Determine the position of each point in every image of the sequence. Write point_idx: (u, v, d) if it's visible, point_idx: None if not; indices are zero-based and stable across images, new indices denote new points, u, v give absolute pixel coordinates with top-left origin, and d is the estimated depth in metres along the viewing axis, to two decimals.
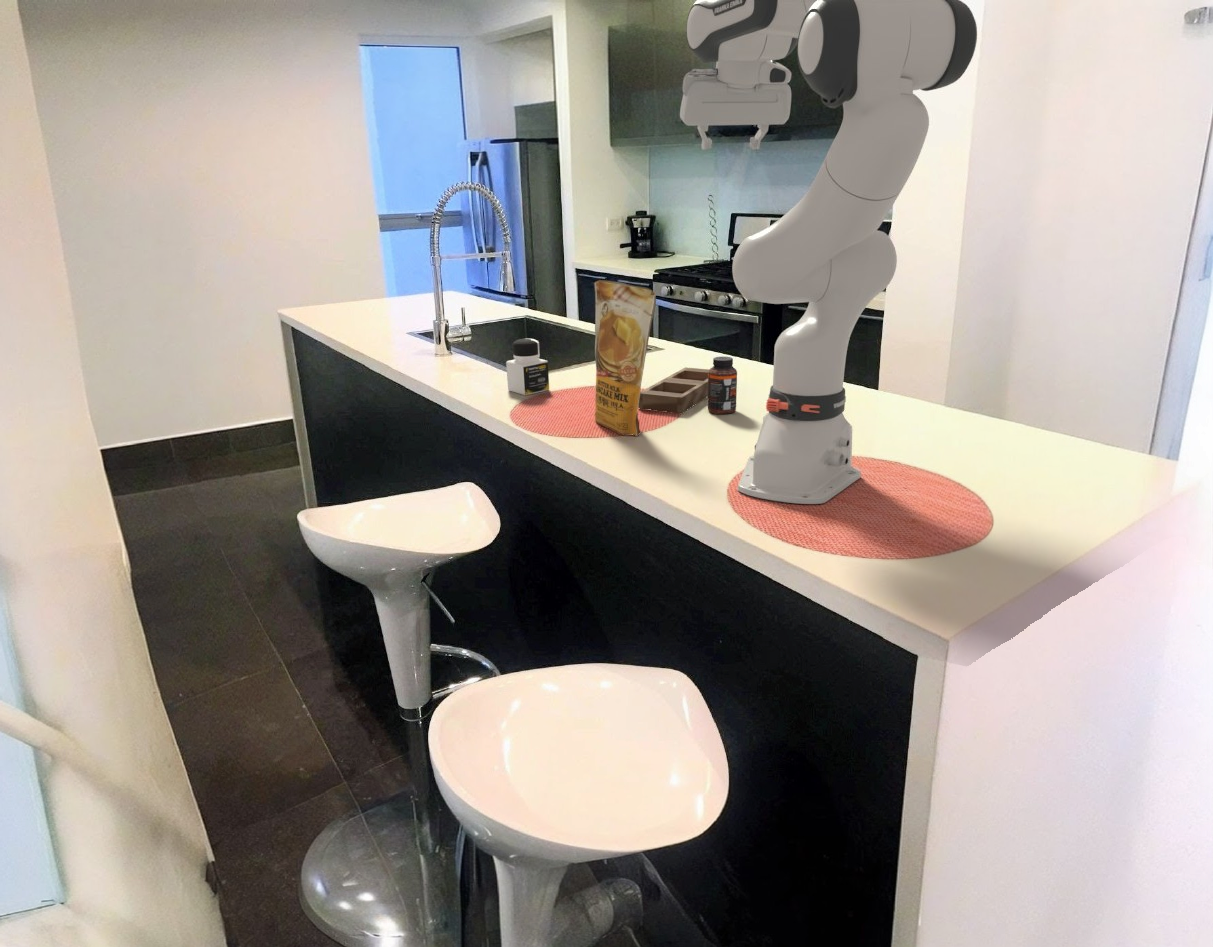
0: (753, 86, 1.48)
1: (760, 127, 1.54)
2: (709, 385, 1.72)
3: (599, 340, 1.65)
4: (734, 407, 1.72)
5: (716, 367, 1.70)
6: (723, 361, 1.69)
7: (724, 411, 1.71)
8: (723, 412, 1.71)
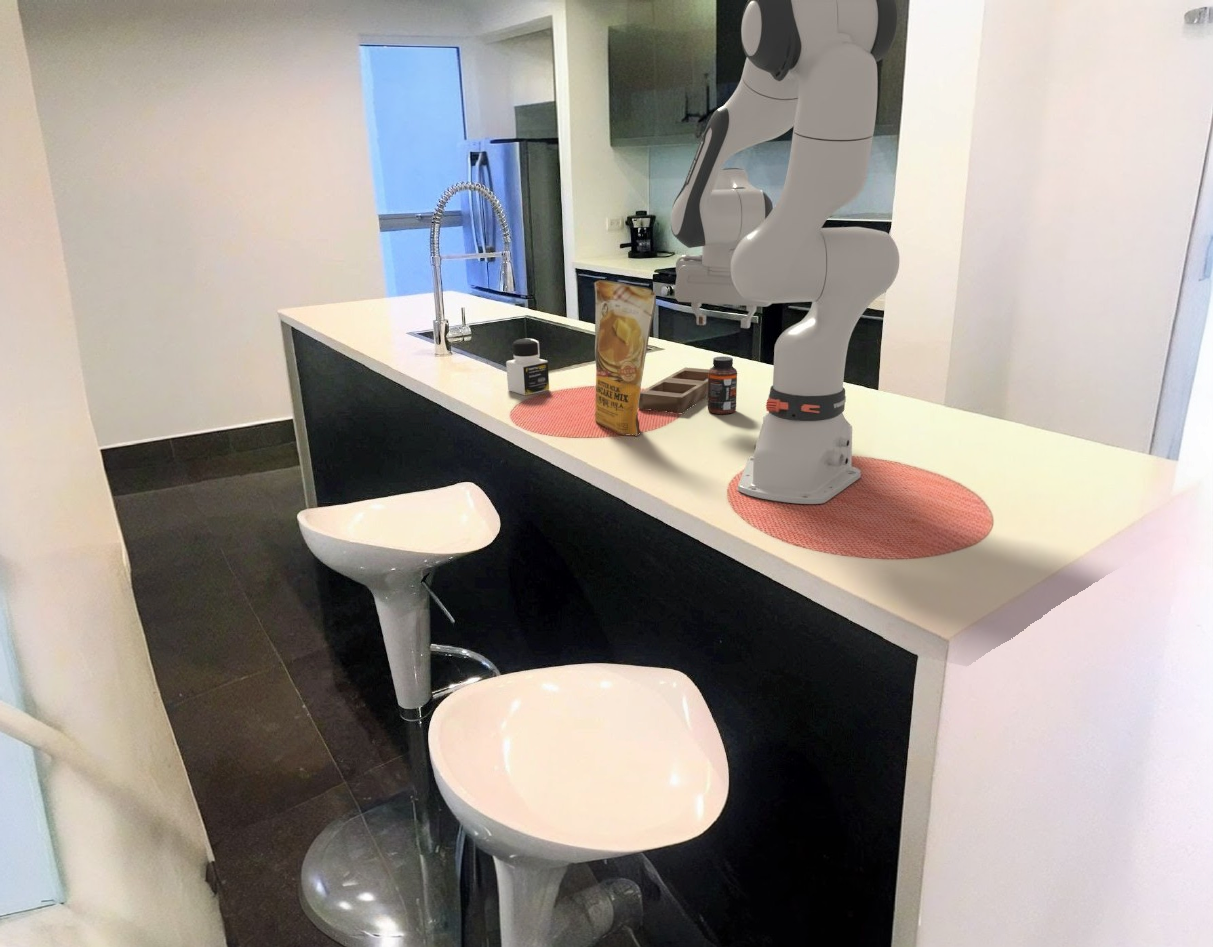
0: (729, 270, 1.62)
1: None
2: (709, 385, 1.72)
3: (599, 340, 1.65)
4: (734, 407, 1.72)
5: (716, 367, 1.70)
6: (723, 361, 1.69)
7: (724, 411, 1.71)
8: (723, 412, 1.71)
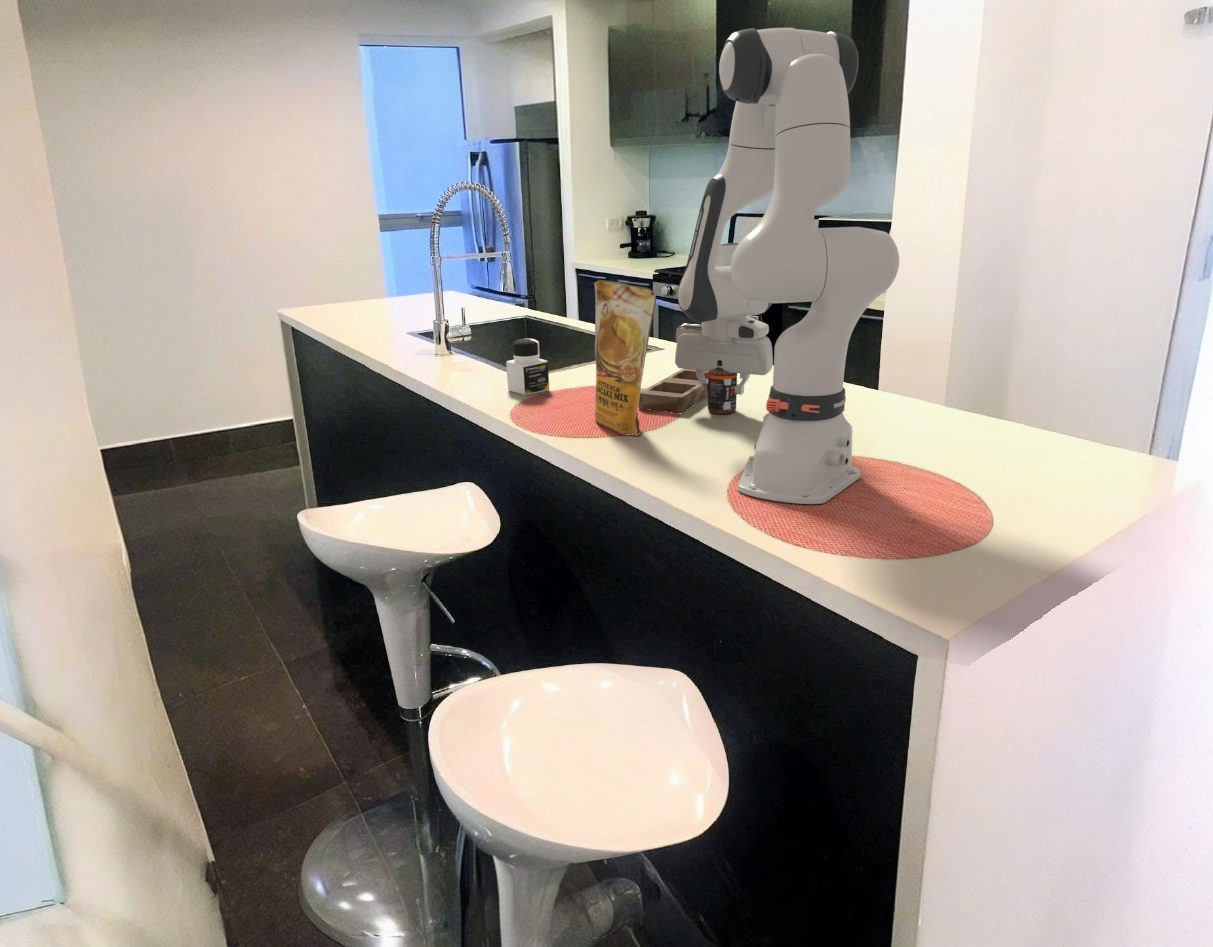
0: (728, 340, 1.66)
1: None
2: (709, 385, 1.72)
3: (599, 340, 1.65)
4: (734, 407, 1.72)
5: None
6: None
7: (724, 411, 1.71)
8: (723, 412, 1.71)
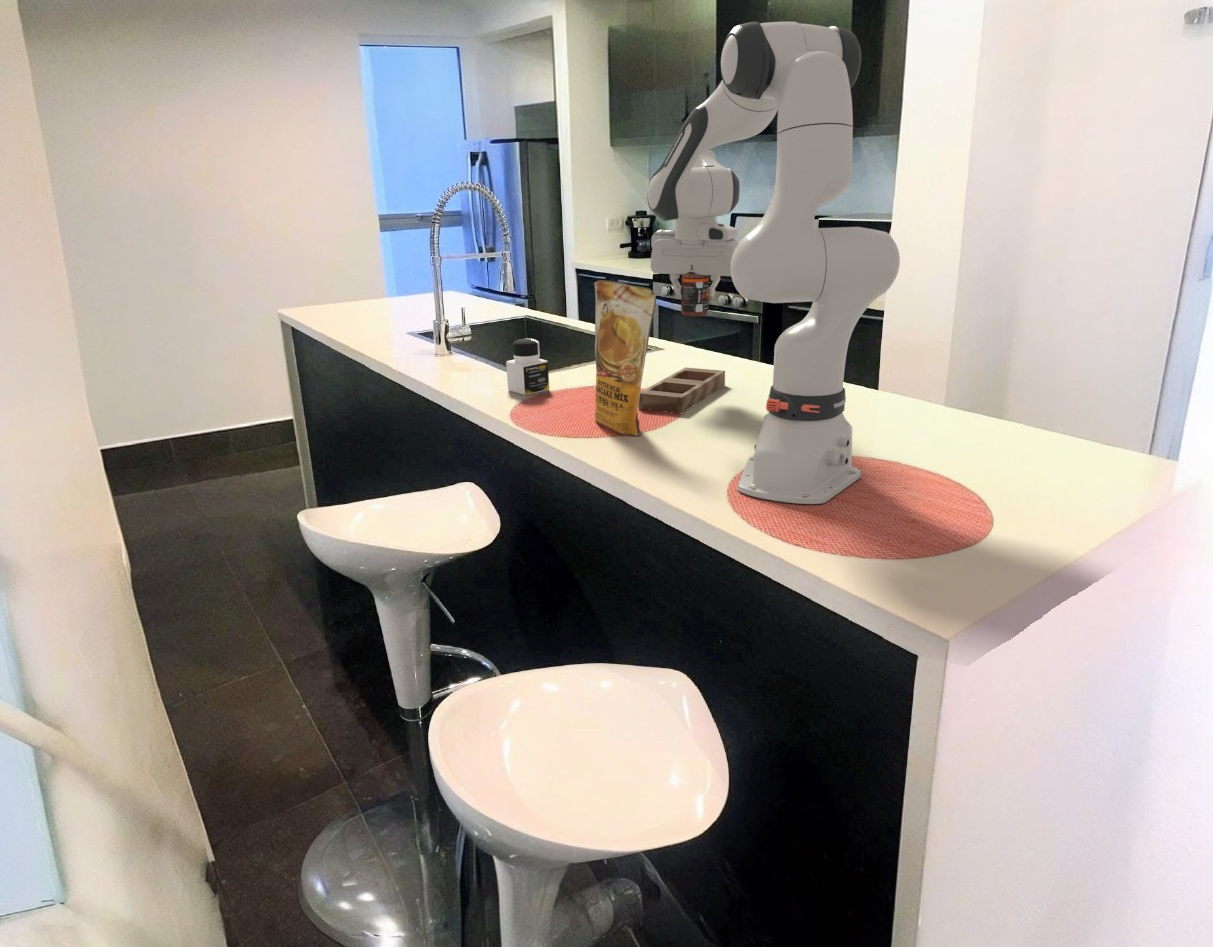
0: (699, 243, 1.77)
1: None
2: (682, 289, 1.83)
3: (599, 340, 1.65)
4: (706, 310, 1.83)
5: None
6: None
7: (696, 313, 1.82)
8: (695, 314, 1.82)
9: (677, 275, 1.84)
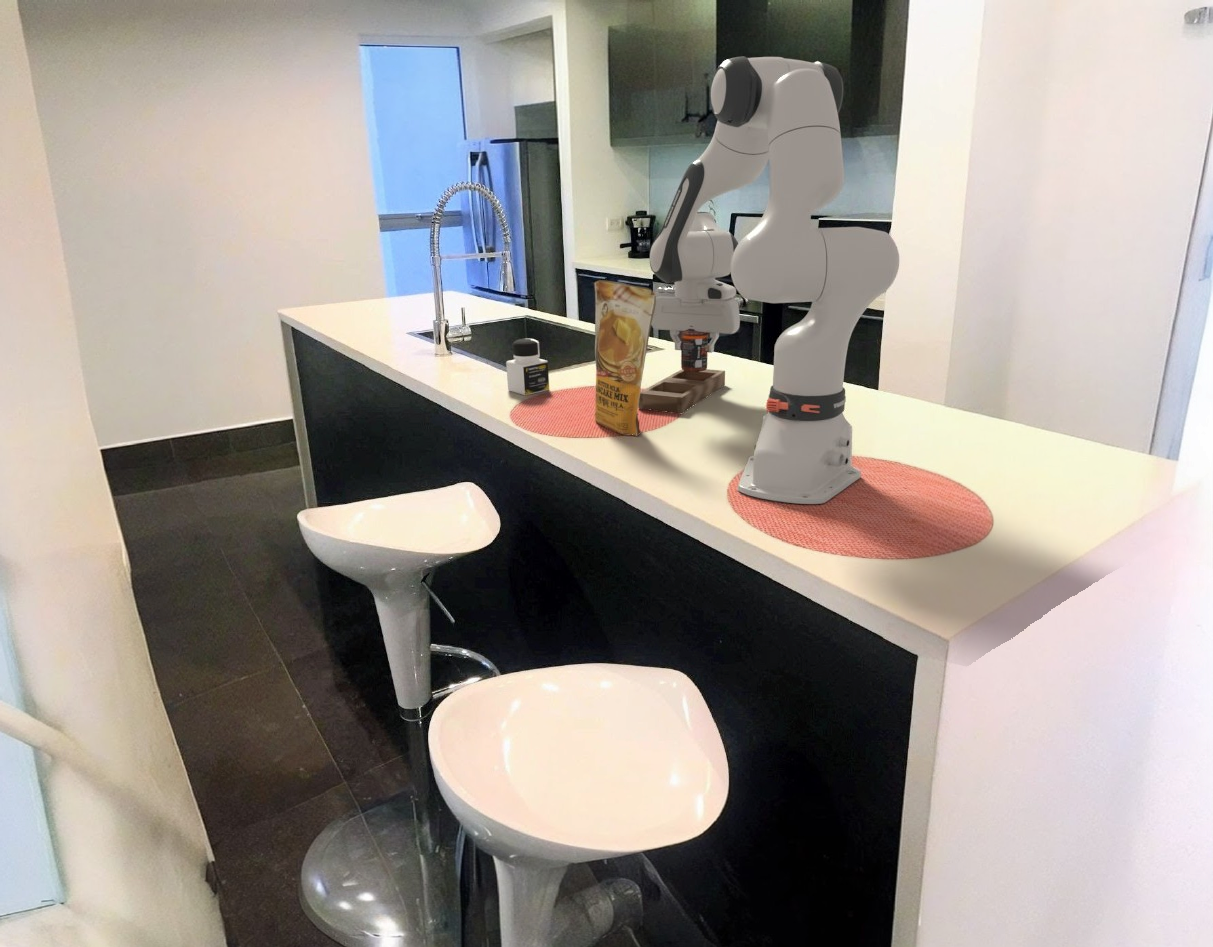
0: (698, 301, 1.81)
1: None
2: (682, 345, 1.87)
3: (599, 340, 1.65)
4: (705, 365, 1.88)
5: None
6: None
7: (696, 369, 1.87)
8: (695, 370, 1.87)
9: (677, 331, 1.88)
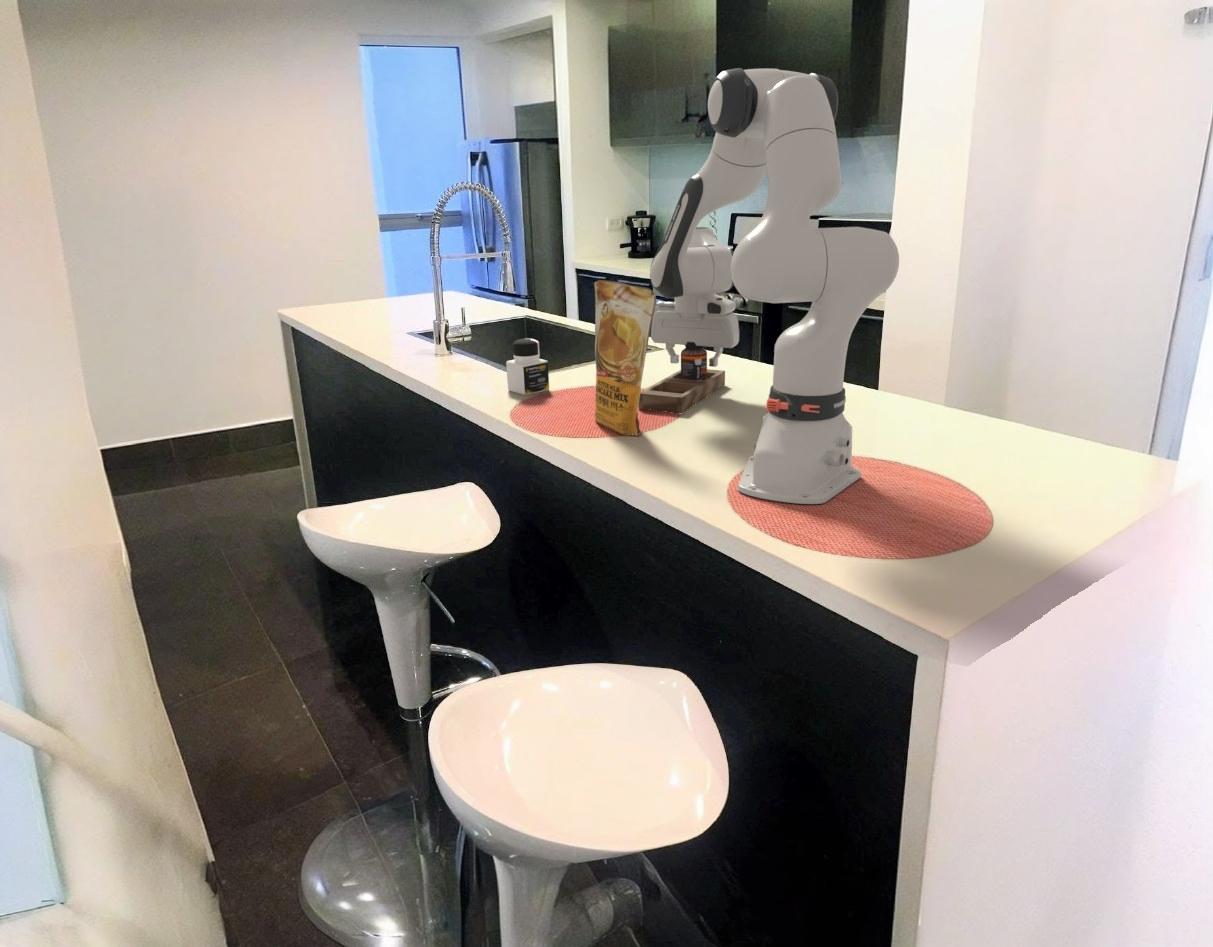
0: (698, 316, 1.82)
1: None
2: (682, 365, 1.88)
3: (599, 340, 1.65)
4: None
5: (687, 349, 1.87)
6: (694, 343, 1.85)
7: None
8: None
9: (672, 344, 1.90)
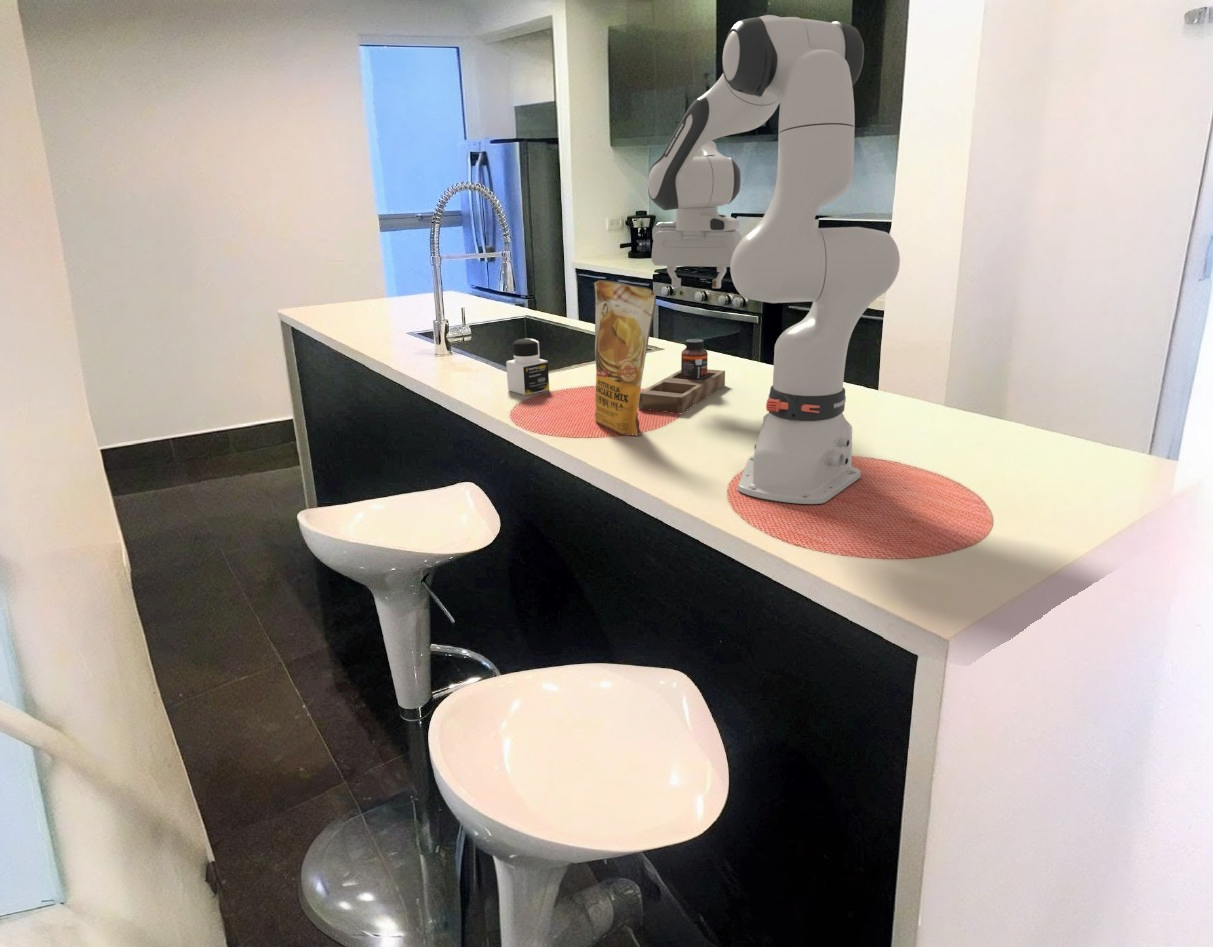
0: (700, 234, 1.76)
1: None
2: (682, 365, 1.88)
3: (599, 340, 1.65)
4: None
5: (688, 349, 1.87)
6: (694, 343, 1.86)
7: None
8: None
9: (674, 267, 1.83)
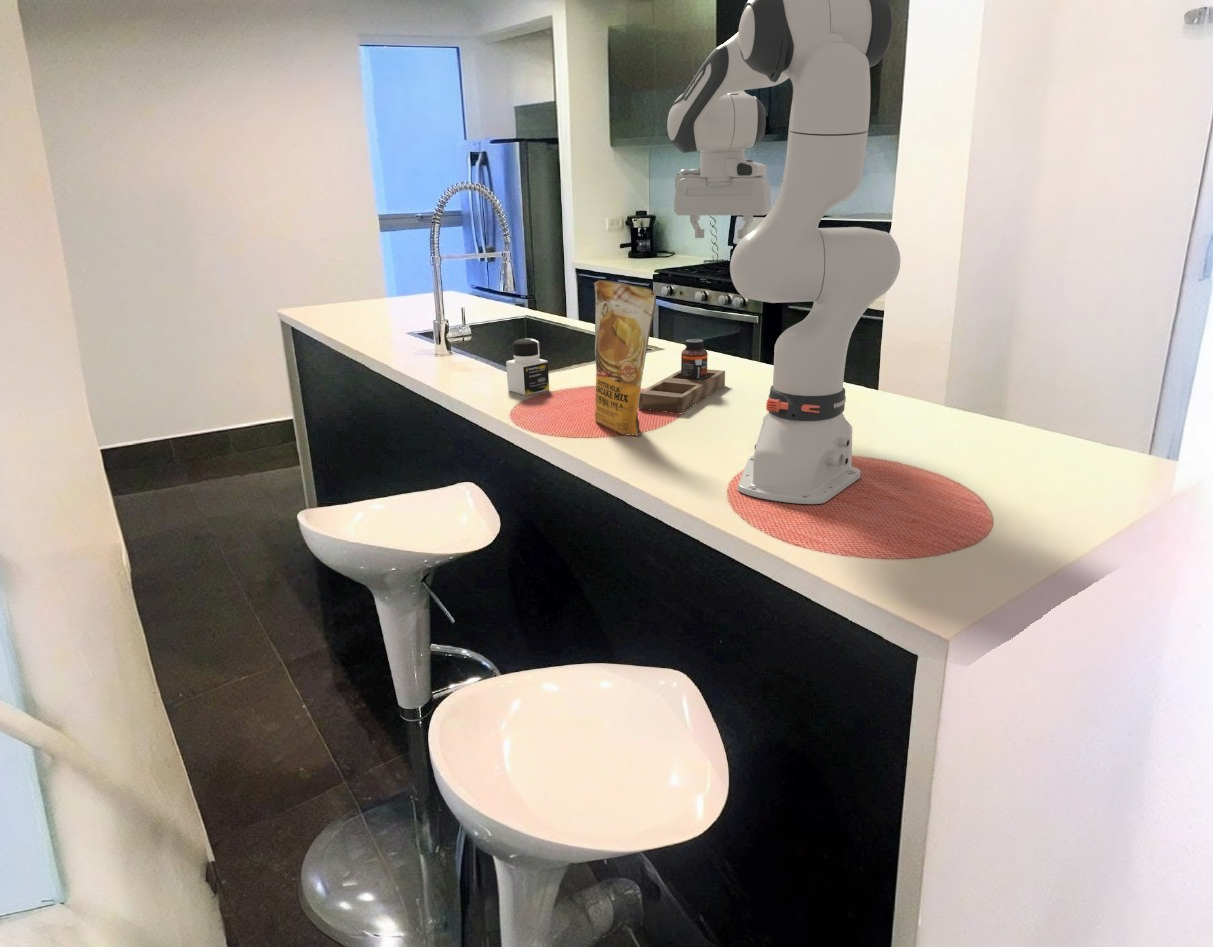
0: (726, 180, 1.67)
1: None
2: (682, 365, 1.88)
3: (599, 340, 1.65)
4: None
5: (688, 349, 1.87)
6: (694, 343, 1.85)
7: None
8: None
9: (697, 217, 1.75)
